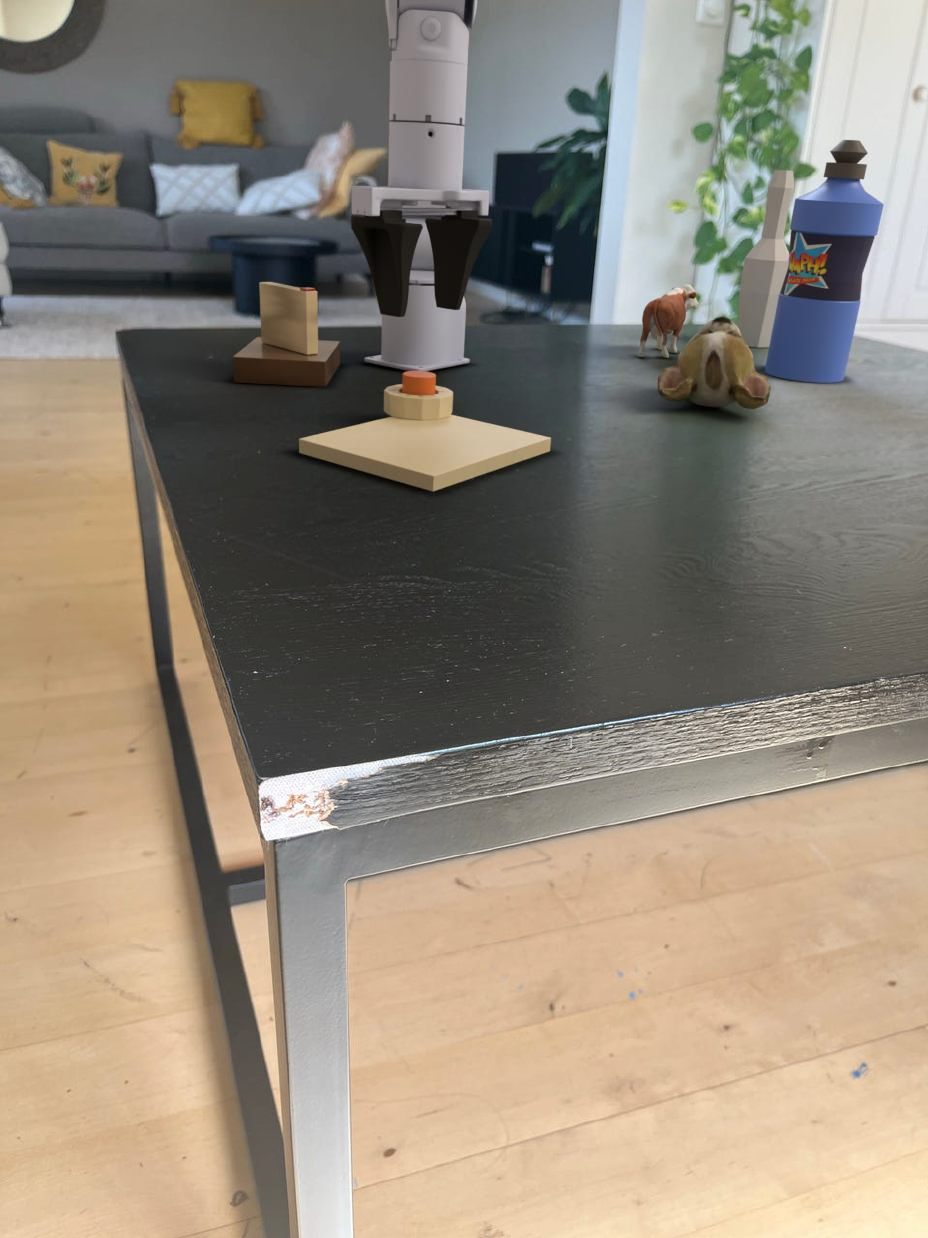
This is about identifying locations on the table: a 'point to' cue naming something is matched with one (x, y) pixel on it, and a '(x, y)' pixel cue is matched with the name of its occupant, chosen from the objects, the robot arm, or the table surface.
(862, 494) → the table surface
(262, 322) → the light wood flat panel
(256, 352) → the stand
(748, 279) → the low poly bottle
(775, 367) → the water bottle
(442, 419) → the beige button base
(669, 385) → the ceramic sculpture
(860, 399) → the table surface
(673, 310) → the bull figurine
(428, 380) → the button
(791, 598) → the table surface
